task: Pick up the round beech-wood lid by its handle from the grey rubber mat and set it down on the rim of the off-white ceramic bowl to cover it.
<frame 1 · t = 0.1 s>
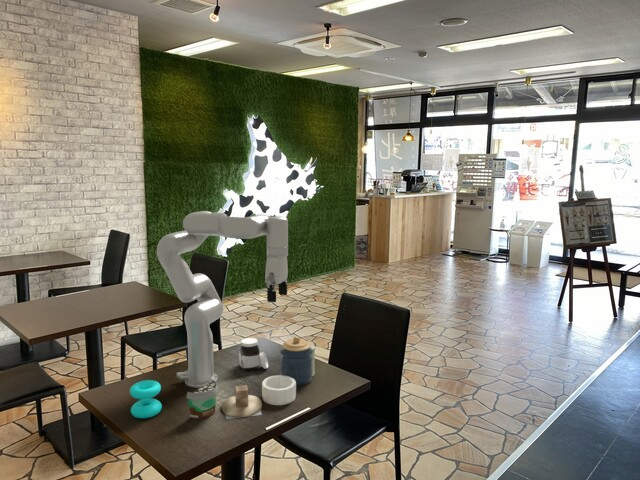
hand: (277, 298, 172), 37 cm above the table, tool pointing down, fingers open, 9 cm apart
spread jar: (254, 367, 202), on the table
lid: (241, 406, 168), resting on mat
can: (303, 373, 197), on the table, touching canister
bowl: (279, 397, 176), on the table
mat: (241, 407, 168), on the table
food container: (207, 415, 163), on the table
donuts: (146, 413, 165), on the table
canister: (296, 379, 192), on the table, touching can
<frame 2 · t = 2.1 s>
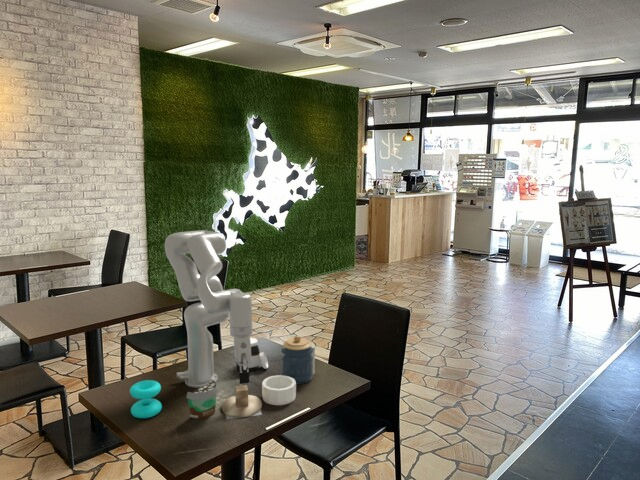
hand: (242, 377, 166), 12 cm above the table, tool pointing down, fingers open, 9 cm apart
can: (303, 372, 198), on the table, touching canister
canister: (297, 378, 193), on the table, touching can
everything else where it was.
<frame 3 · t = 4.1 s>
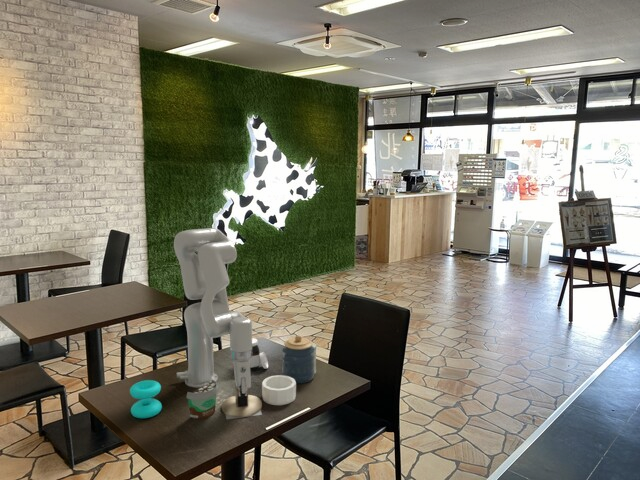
hand: (241, 402, 168), 2 cm above the table, tool pointing down, fingers closed on lid, 4 cm apart
lid: (241, 406, 168), resting on mat, touching gripper
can: (305, 372, 198), on the table, touching canister
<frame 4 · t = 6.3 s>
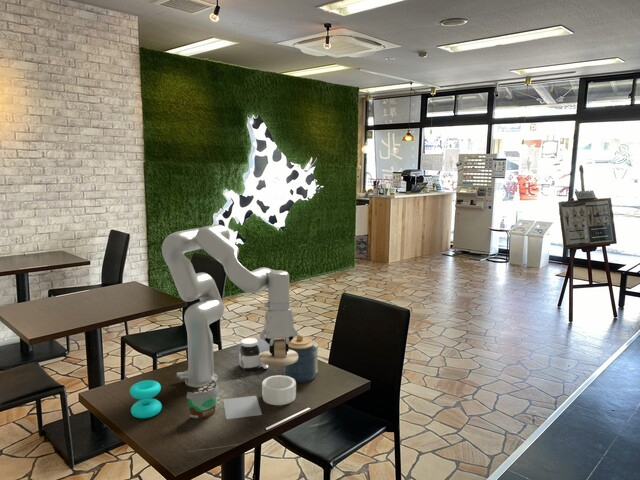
hand: (278, 353, 173), 17 cm above the table, tool pointing down, fingers closed on lid, 4 cm apart
lid: (279, 358, 173), point 15 cm above the table, touching gripper
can: (306, 371, 199), on the table, touching canister
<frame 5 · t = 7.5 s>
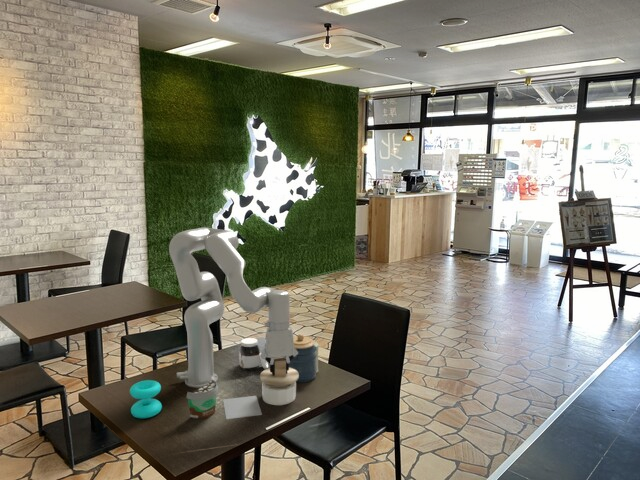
hand: (279, 372, 174), 10 cm above the table, tool pointing down, fingers closed on lid, 4 cm apart
lid: (279, 377, 175), point 8 cm above the table, touching gripper
when the fingers open (9 cm above the table, at t = 8.5 s): lid stays where it is, resting on bowl.
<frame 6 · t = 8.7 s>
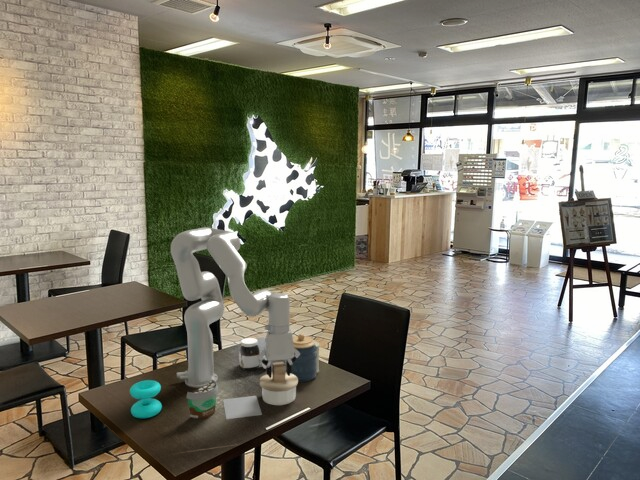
hand: (279, 374, 175), 9 cm above the table, tool pointing down, fingers open, 6 cm apart
lid: (278, 382, 175), point 6 cm above the table, touching bowl
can: (307, 370, 200), on the table, touching canister
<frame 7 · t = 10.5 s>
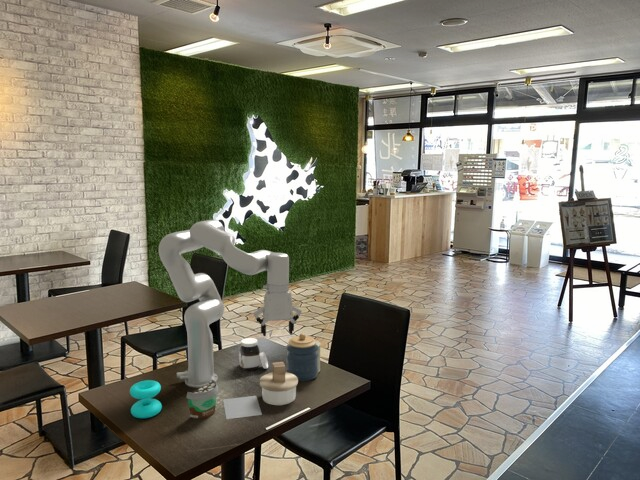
hand: (277, 333, 172), 24 cm above the table, tool pointing down, fingers open, 9 cm apart
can: (309, 370, 200), on the table, touching canister
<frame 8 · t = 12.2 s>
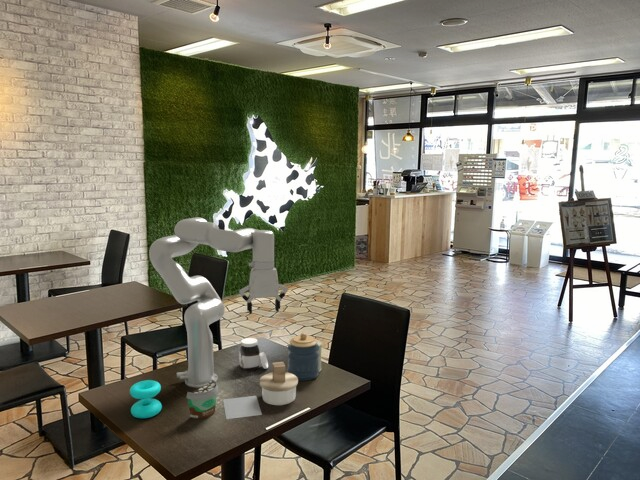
hand: (263, 311, 172), 32 cm above the table, tool pointing down, fingers open, 9 cm apart
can: (310, 369, 201), on the table, touching canister
at the end: lid 0.1 cm off-centre on the bowl, point 6.0 cm above the bowl's base; lid tilted 0°; the gripper is holding nothing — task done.
